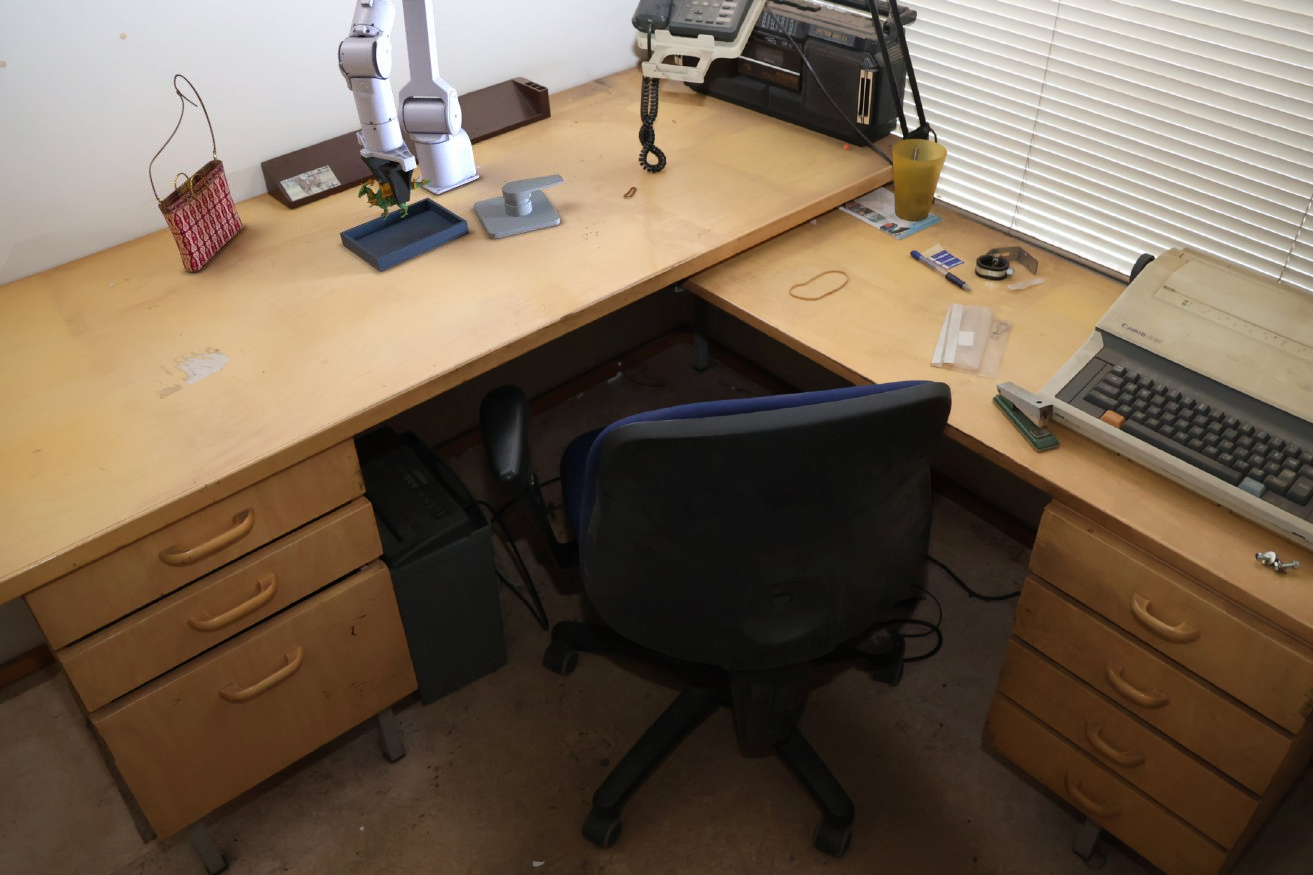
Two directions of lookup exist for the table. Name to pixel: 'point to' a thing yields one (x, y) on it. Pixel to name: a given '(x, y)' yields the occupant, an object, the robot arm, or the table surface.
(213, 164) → the handbag
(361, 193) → the figurine
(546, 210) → the shower valve
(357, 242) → the tray
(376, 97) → the robot arm
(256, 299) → the table surface
